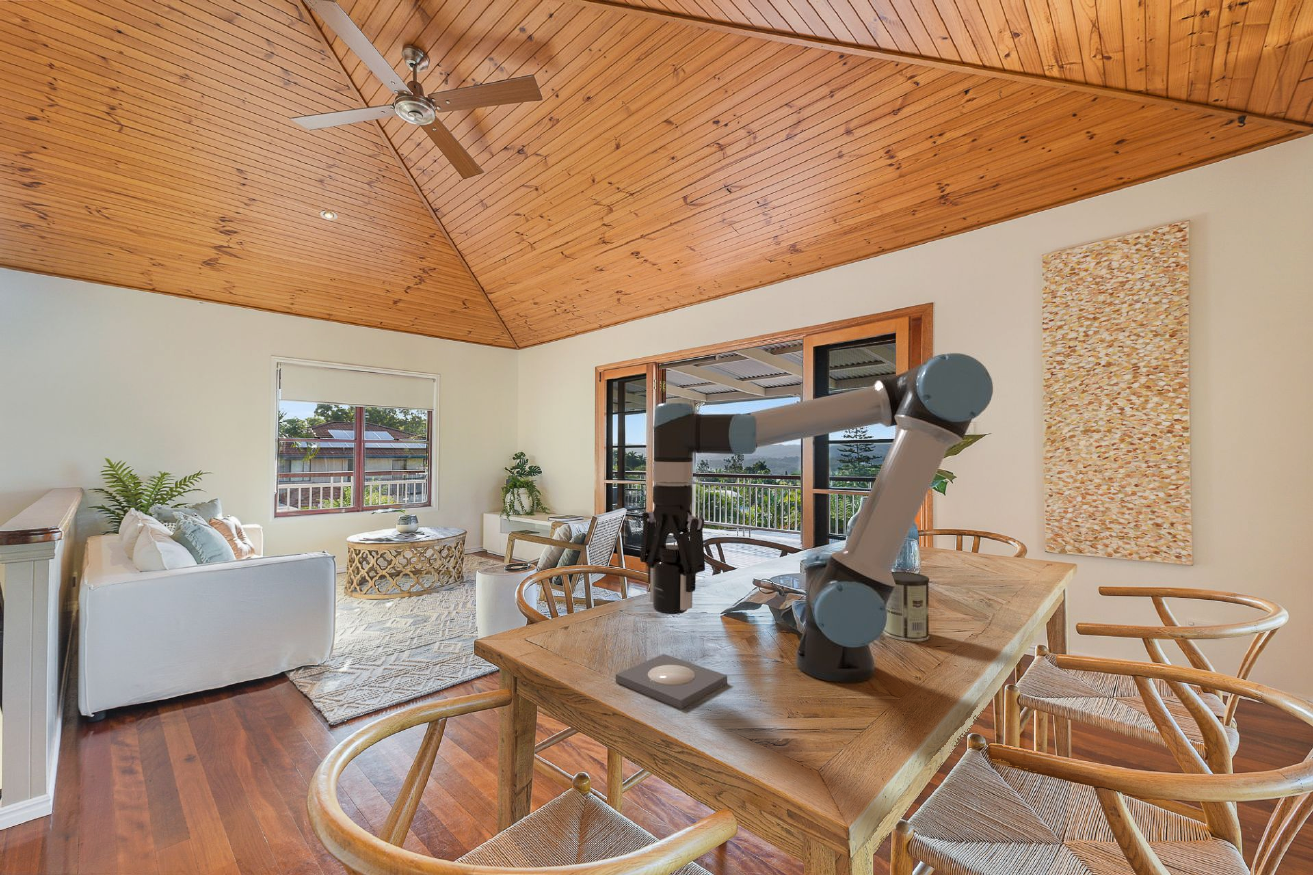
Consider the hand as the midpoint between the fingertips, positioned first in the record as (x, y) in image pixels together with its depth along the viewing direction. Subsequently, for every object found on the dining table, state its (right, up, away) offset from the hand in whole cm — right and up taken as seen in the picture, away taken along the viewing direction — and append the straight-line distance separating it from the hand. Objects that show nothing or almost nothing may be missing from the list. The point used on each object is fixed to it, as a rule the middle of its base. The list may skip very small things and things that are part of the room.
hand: (670, 604), depth 107 cm
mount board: (0, -15, 0) cm, 15 cm away
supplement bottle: (0, -1, 0) cm, 1 cm away
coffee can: (+57, -16, +28) cm, 66 cm away
